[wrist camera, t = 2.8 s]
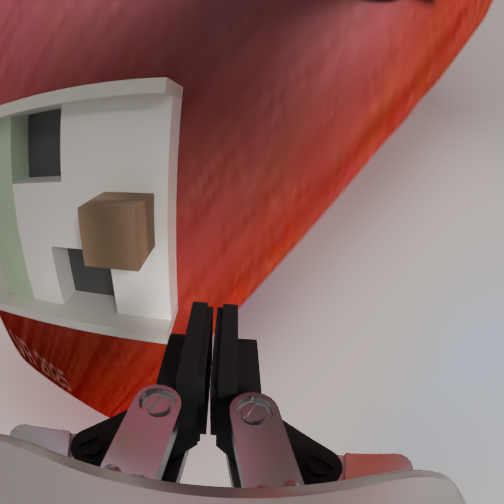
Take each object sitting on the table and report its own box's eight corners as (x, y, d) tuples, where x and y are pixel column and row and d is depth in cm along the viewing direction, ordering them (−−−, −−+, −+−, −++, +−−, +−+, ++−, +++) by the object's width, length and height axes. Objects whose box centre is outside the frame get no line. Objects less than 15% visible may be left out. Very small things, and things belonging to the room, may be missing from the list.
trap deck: (183, 87, 19) (166, 77, 14) (178, 309, 27) (167, 344, 22) (0, 112, 17) (-33, 117, 13) (20, 285, 25) (-2, 309, 21)
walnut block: (154, 193, 19) (134, 209, 16) (154, 245, 21) (138, 271, 17) (104, 191, 19) (77, 207, 15) (107, 242, 21) (84, 265, 17)
